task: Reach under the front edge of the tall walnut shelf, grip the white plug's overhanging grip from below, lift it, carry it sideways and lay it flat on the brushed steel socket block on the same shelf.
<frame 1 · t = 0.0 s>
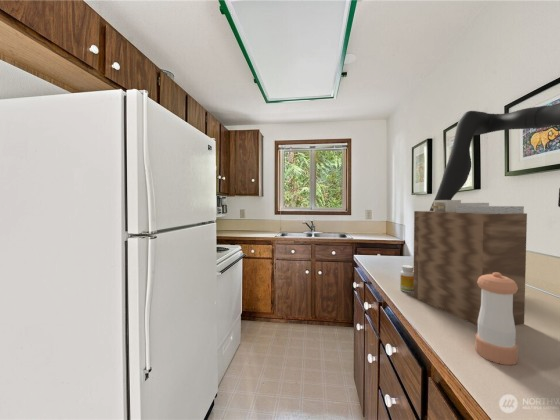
walnut shelf: (461, 308, 82), on the counter
supplement bottle: (407, 290, 99), on the counter
plug: (462, 211, 88), point 32 cm above the counter, touching walnut shelf
pepper shaker: (495, 355, 57), on the counter
socket block: (488, 212, 75), resting on walnut shelf
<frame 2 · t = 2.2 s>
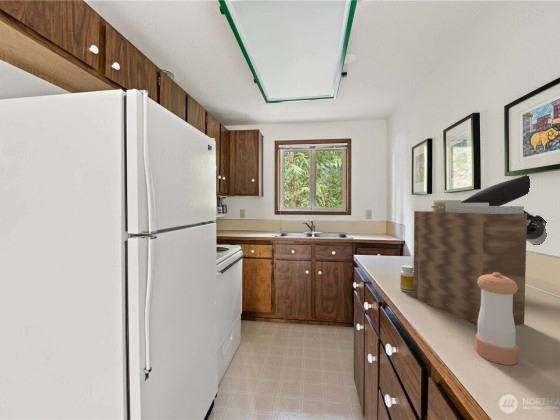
hand: (507, 211, 94), 32 cm above the counter, tool pointing upward, fingers open, 8 cm apart
nothing on the counter moved.
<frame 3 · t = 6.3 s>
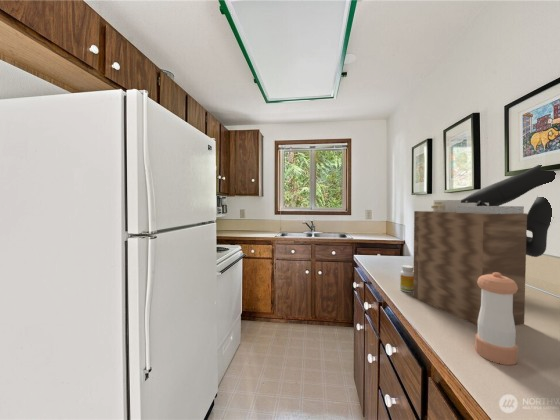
hand: (472, 203, 89), 35 cm above the counter, tool pointing upward, fingers closed on plug, 4 cm apart
plug: (462, 211, 88), point 32 cm above the counter, touching gripper, walnut shelf
everything else where it was.
when the fingers open (38 cm above the counter, at t = 13.5 s): plug drops 1 cm, resting on socket block.
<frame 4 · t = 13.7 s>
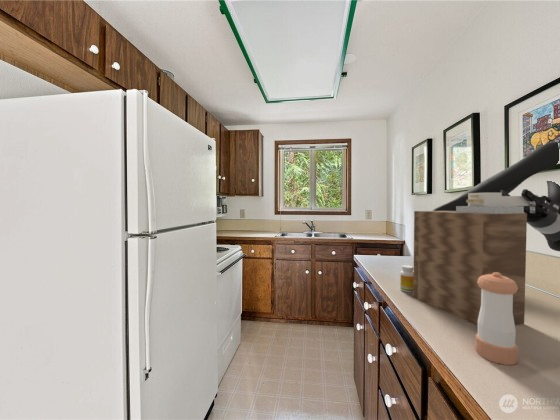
hand: (512, 192, 77), 38 cm above the counter, tool pointing upward, fingers open, 5 cm apart
plug: (501, 206, 76), point 34 cm above the counter, touching socket block
everything else where it was.
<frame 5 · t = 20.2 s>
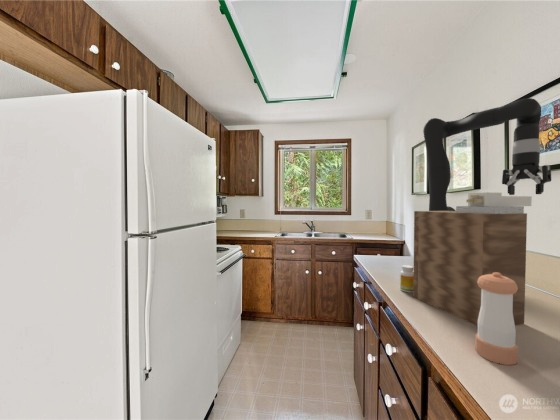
hand: (524, 194, 96), 38 cm above the counter, tool pointing down, fingers open, 8 cm apart
nothing on the counter moved.
at the end: plug 0.0 cm from the target spot on the socket block, point 2.0 cm above the socket block's base; plug tilted 0°; the gripper is holding nothing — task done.
